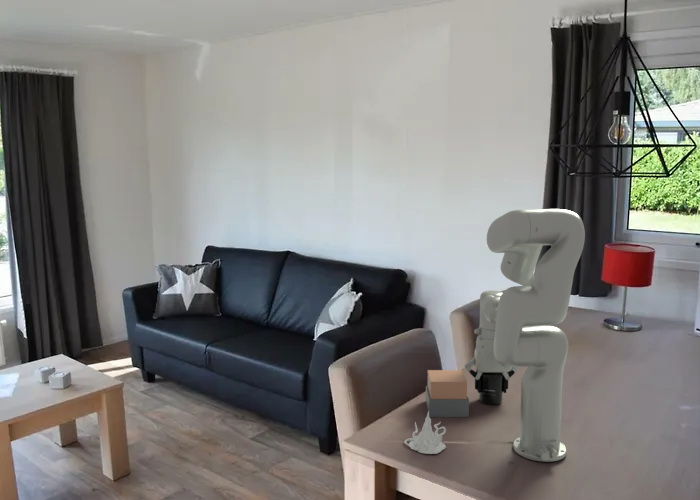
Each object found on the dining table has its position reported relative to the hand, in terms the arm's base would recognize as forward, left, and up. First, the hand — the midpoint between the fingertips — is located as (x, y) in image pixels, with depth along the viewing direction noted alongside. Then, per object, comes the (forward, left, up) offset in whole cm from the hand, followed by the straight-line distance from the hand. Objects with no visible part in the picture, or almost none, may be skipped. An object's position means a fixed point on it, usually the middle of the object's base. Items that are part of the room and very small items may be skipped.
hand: (491, 390), depth 178 cm
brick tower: (-6, +14, -3) cm, 16 cm away
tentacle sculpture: (-29, +22, -4) cm, 37 cm away
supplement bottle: (0, 0, -4) cm, 4 cm away
